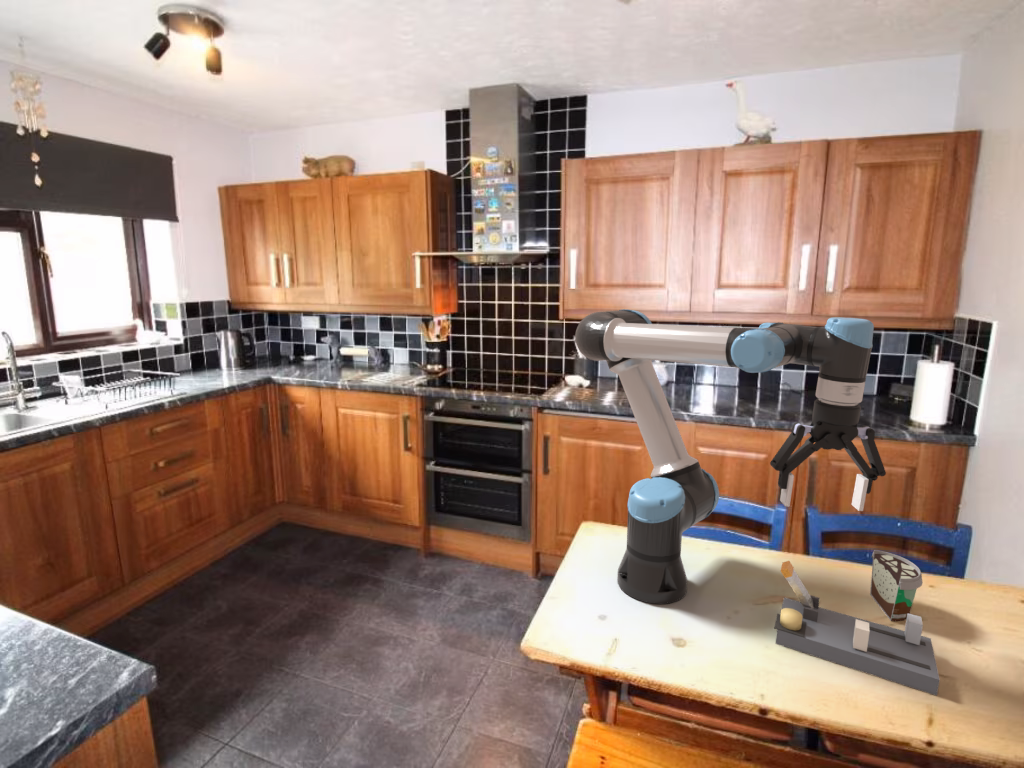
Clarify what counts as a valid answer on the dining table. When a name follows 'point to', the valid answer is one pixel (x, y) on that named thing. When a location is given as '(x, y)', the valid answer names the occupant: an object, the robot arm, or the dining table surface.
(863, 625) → the cream slider
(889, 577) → the food container
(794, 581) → the lever
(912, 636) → the grey slider
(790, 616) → the button
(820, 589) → the dining table surface
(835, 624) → the panel
